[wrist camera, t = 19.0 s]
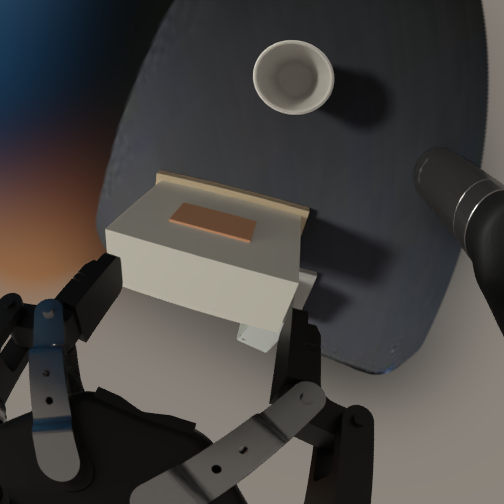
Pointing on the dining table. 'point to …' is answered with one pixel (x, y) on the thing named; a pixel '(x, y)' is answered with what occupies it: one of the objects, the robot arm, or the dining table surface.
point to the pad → (304, 287)
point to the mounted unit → (211, 249)
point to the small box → (260, 334)
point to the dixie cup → (293, 77)
